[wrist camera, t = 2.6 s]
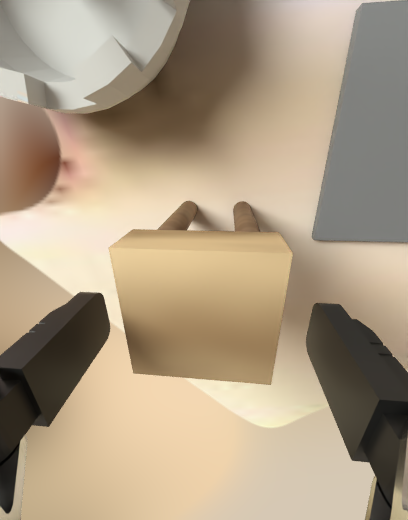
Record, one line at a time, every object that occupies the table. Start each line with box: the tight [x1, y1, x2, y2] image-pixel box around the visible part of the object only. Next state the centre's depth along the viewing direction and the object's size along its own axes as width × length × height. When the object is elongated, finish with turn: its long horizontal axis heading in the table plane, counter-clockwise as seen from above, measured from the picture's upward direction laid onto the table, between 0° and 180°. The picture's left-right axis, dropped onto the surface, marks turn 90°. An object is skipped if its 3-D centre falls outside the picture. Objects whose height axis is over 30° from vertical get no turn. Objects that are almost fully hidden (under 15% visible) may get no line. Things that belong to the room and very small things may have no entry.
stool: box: [109, 201, 293, 385], centre depth 13 cm, size 6×6×10 cm
